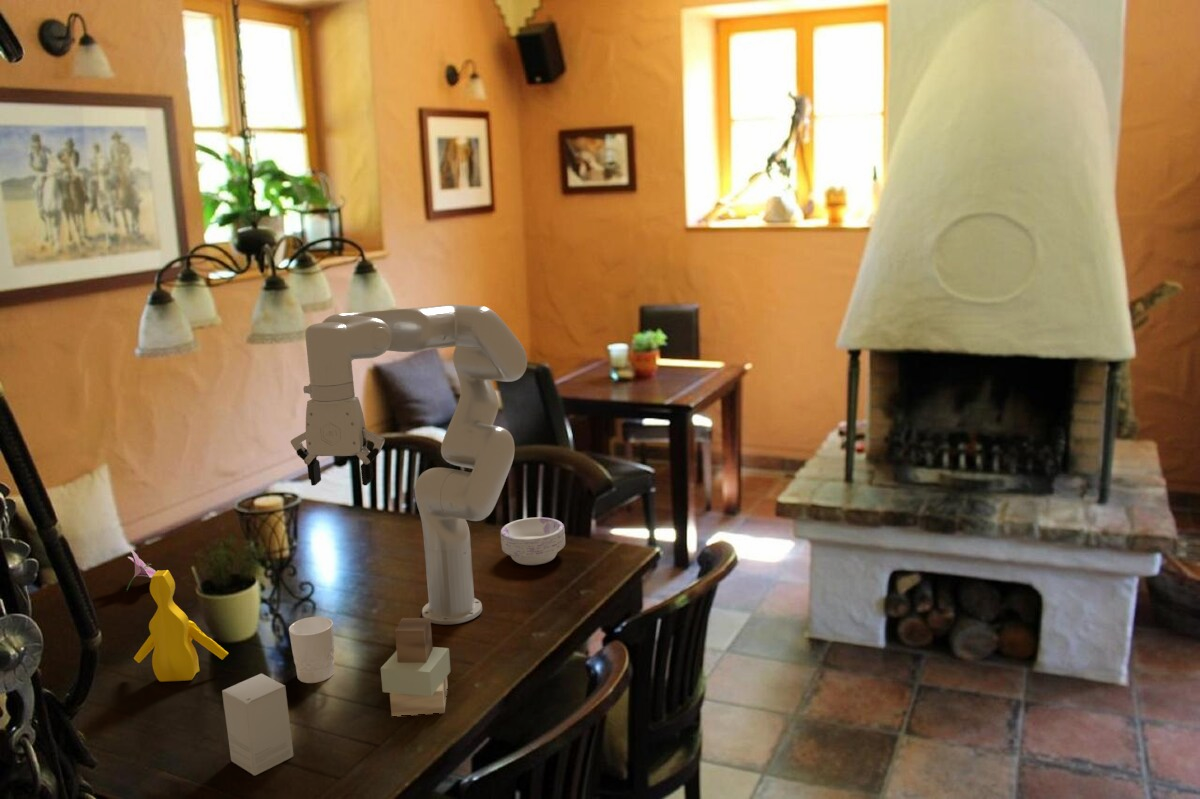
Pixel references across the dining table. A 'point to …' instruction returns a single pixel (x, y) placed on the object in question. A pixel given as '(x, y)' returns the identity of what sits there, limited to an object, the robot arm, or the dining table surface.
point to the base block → (419, 702)
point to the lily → (140, 567)
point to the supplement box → (258, 723)
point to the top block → (416, 674)
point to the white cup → (313, 648)
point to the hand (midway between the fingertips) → (341, 483)
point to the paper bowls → (533, 540)
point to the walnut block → (413, 640)
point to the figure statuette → (173, 635)
